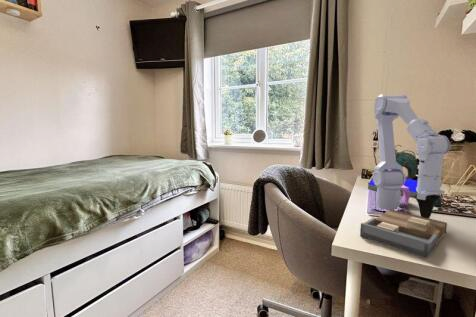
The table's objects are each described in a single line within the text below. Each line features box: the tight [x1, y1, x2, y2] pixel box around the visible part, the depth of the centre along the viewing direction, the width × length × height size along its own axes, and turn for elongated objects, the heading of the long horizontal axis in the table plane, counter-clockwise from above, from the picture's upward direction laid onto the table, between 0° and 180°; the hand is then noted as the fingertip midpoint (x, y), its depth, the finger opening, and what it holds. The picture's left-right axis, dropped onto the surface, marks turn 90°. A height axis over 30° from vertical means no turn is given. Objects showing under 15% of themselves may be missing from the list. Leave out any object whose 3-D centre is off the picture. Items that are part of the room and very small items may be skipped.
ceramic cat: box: [383, 144, 419, 179], centre depth 155 cm, size 20×6×20 cm, turn 88°
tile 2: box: [407, 217, 430, 231], centre depth 76 cm, size 4×4×2 cm
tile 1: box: [377, 222, 399, 233], centre depth 76 cm, size 4×4×2 cm
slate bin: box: [359, 217, 438, 259], centre depth 73 cm, size 9×17×4 cm, turn 41°
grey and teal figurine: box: [434, 179, 443, 207], centre depth 106 cm, size 6×8×11 cm
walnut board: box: [375, 210, 448, 245], centre depth 81 cm, size 14×16×3 cm
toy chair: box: [388, 170, 410, 206], centre depth 107 cm, size 8×9×15 cm
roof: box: [367, 175, 418, 198], centre depth 126 cm, size 22×14×7 cm, turn 43°
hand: (425, 217), depth 80 cm, fingers closed
